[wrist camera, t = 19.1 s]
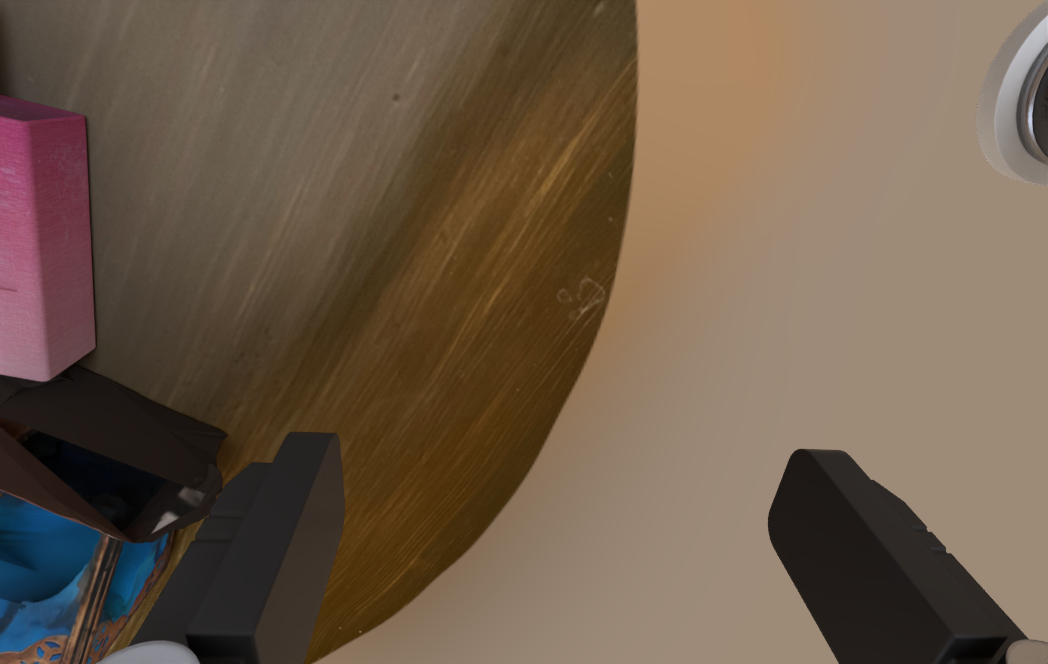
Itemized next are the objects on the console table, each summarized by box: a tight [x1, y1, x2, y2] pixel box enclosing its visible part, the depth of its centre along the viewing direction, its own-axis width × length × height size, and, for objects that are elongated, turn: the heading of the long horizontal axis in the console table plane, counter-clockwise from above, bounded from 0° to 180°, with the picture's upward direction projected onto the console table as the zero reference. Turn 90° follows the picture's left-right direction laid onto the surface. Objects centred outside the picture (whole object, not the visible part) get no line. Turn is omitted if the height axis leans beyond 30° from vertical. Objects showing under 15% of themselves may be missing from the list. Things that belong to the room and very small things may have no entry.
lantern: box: [0, 364, 227, 664], centre depth 37 cm, size 16×16×25 cm
